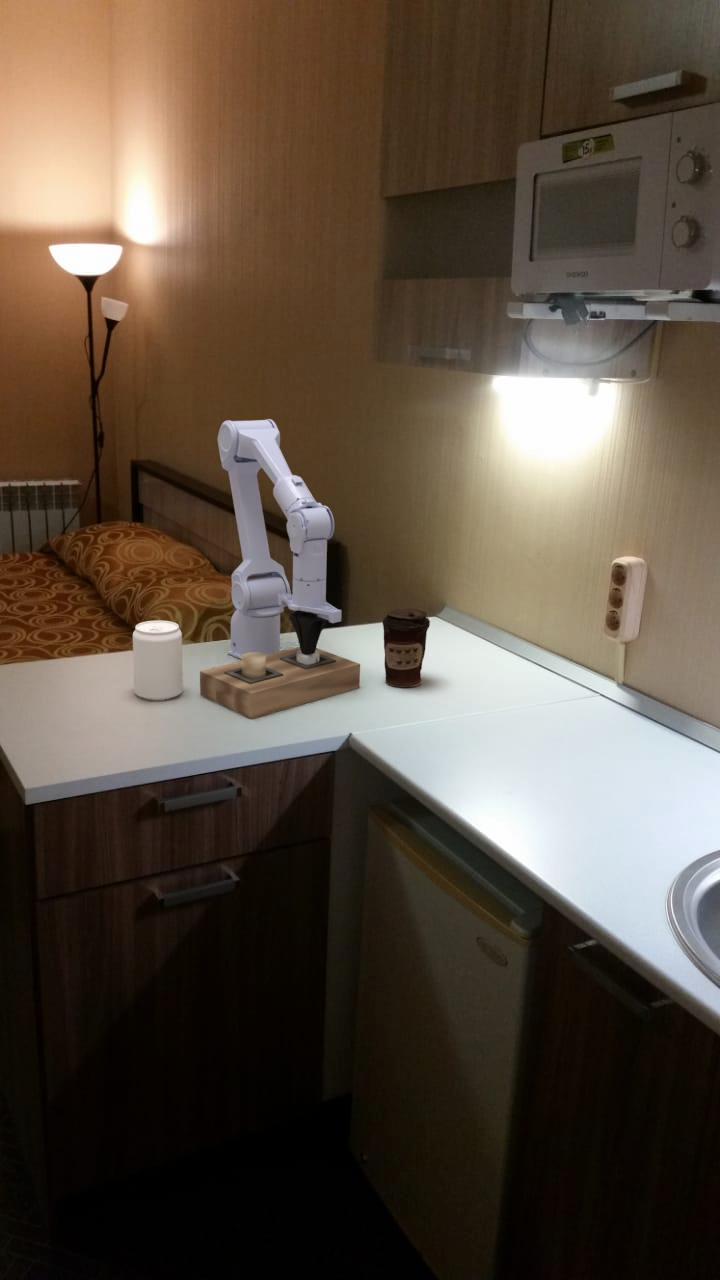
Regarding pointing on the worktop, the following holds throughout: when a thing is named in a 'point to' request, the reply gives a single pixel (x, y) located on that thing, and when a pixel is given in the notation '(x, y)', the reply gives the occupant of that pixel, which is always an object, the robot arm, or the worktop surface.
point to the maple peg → (253, 665)
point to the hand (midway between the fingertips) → (308, 653)
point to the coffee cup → (404, 646)
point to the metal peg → (307, 658)
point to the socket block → (279, 683)
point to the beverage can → (157, 660)
